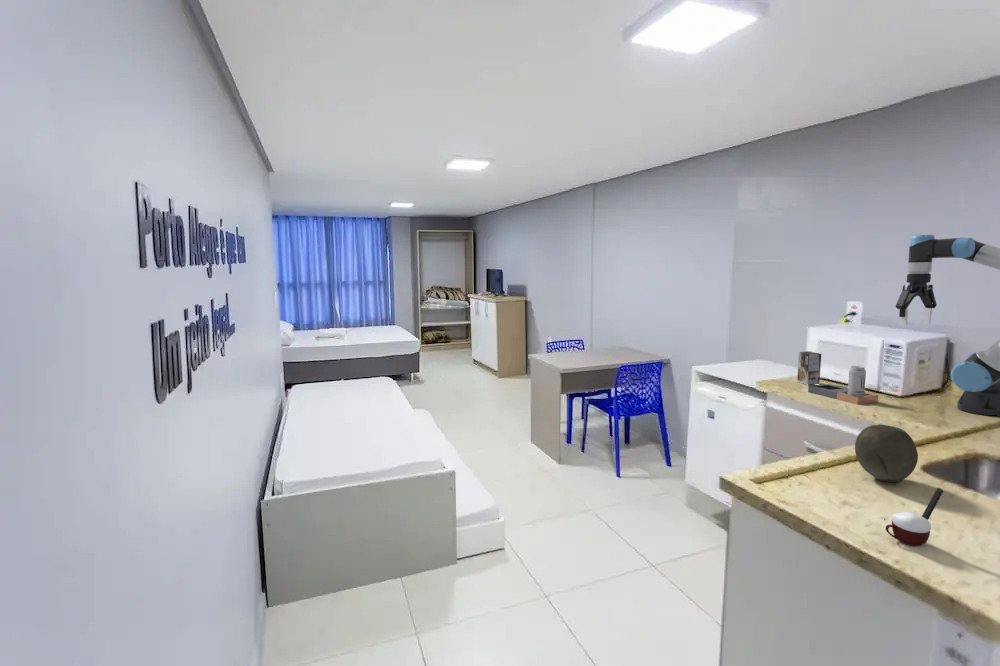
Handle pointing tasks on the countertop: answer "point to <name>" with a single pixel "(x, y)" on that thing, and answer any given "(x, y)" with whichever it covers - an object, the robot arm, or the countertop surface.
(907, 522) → the cocoa
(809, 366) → the coffee box
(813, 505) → the countertop surface
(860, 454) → the dark grey rounded lump
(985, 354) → the robot arm
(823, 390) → the shallow tray
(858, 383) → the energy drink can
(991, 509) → the countertop surface
